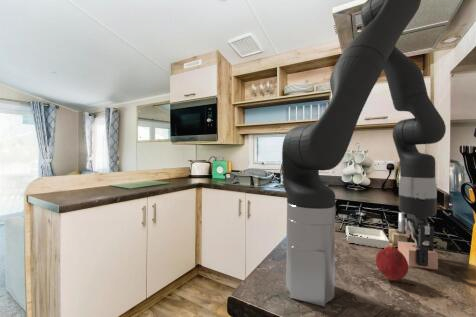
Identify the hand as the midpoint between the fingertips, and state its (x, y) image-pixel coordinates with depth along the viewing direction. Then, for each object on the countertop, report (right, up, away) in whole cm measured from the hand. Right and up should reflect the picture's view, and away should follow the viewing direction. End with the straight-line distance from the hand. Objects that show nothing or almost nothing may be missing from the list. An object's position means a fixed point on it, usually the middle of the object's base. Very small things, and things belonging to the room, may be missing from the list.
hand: (416, 258), depth 56 cm
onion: (-13, -1, -9) cm, 15 cm away
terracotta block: (0, -1, 0) cm, 1 cm away
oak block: (+5, -1, +11) cm, 12 cm away
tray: (-4, -1, +15) cm, 16 cm away
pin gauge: (+5, -1, +11) cm, 12 cm away
